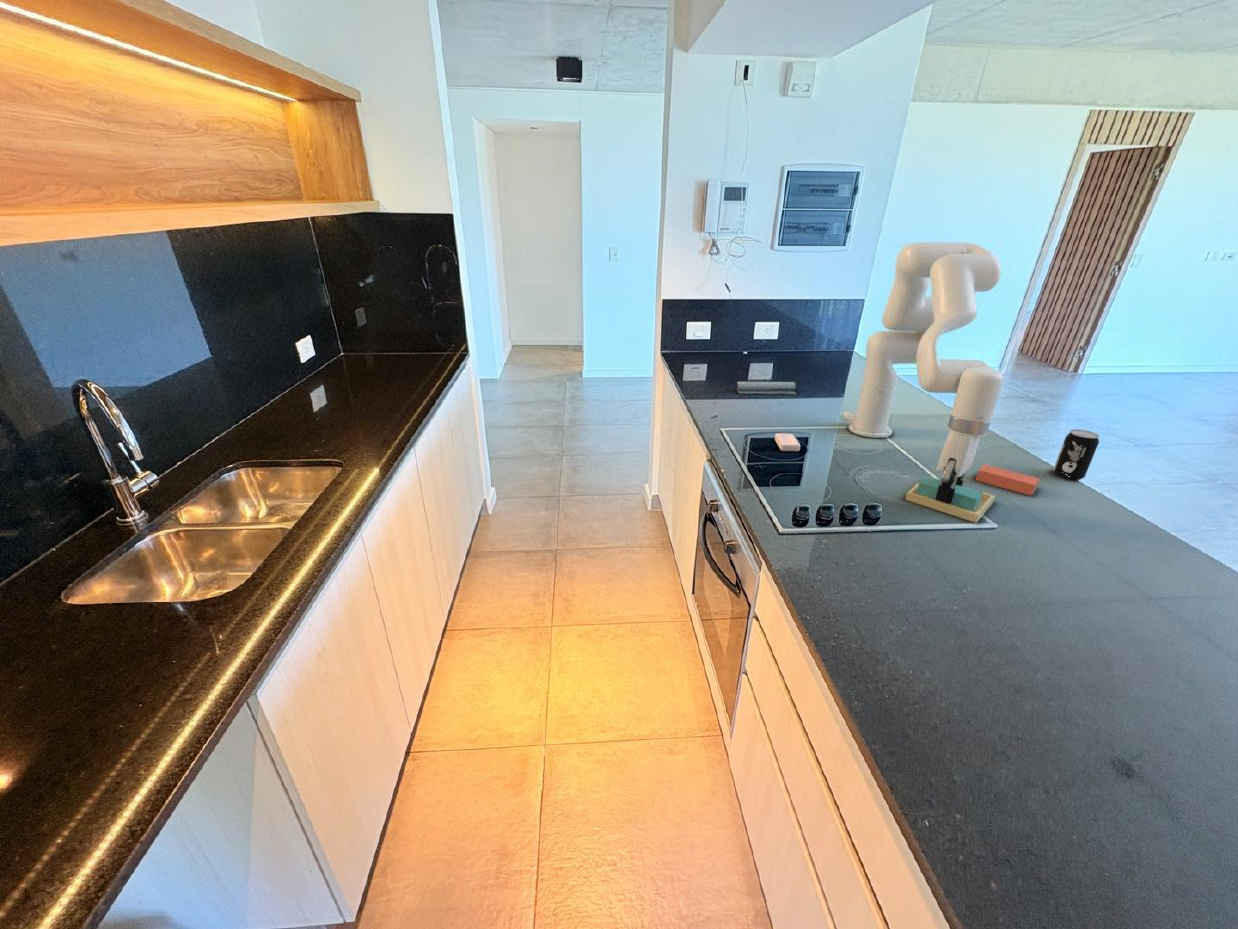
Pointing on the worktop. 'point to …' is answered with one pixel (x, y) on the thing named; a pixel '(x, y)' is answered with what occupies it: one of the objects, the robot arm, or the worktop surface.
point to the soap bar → (787, 442)
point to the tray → (949, 508)
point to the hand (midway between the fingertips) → (947, 496)
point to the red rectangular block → (1007, 479)
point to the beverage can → (1076, 454)
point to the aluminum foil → (765, 387)
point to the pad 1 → (960, 498)
